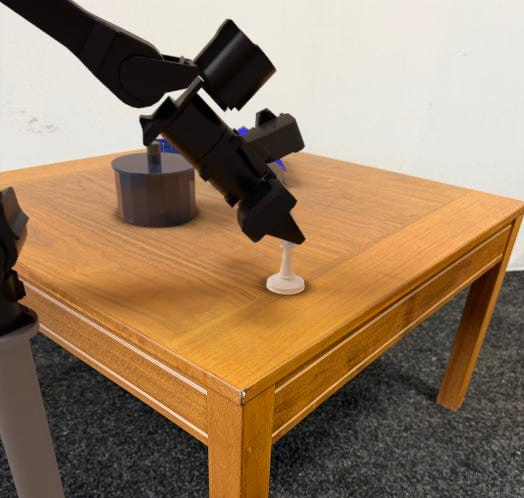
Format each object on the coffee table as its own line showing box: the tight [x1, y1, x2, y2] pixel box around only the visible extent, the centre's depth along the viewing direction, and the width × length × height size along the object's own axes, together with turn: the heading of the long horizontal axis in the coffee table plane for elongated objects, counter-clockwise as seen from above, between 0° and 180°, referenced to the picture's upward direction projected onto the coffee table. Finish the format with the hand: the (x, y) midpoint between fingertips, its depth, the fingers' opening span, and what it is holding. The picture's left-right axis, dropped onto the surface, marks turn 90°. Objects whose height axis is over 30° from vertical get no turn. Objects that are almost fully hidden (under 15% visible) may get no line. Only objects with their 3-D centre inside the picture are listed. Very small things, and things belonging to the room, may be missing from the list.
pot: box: [113, 169, 197, 228], centre depth 90 cm, size 13×13×8 cm
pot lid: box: [110, 141, 196, 177], centre depth 87 cm, size 14×14×4 cm
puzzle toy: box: [154, 135, 180, 154], centre depth 120 cm, size 6×5×6 cm
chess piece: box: [266, 209, 306, 296], centre depth 68 cm, size 5×5×10 cm
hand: (299, 237), depth 67 cm, fingers open, 3 cm apart
